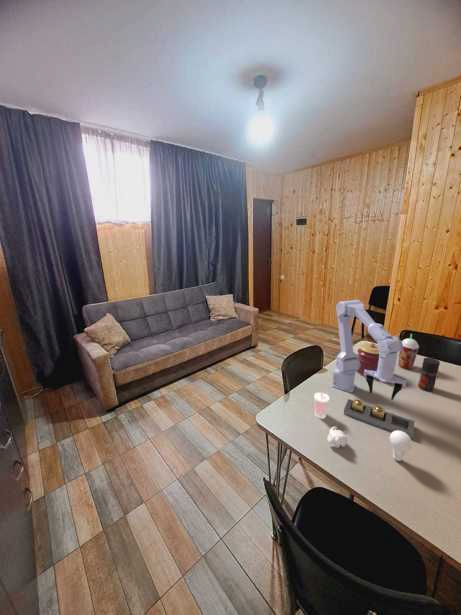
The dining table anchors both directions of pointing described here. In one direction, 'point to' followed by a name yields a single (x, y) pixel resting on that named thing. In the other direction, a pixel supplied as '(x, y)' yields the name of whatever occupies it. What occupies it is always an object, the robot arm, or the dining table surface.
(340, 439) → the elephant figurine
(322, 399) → the beverage cup
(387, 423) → the rack rail
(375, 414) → the knobbed gold cube
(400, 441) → the lightbulb
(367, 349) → the canister
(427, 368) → the deodorant
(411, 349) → the smoothie
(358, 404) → the gold knobbed block
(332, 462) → the dining table surface
